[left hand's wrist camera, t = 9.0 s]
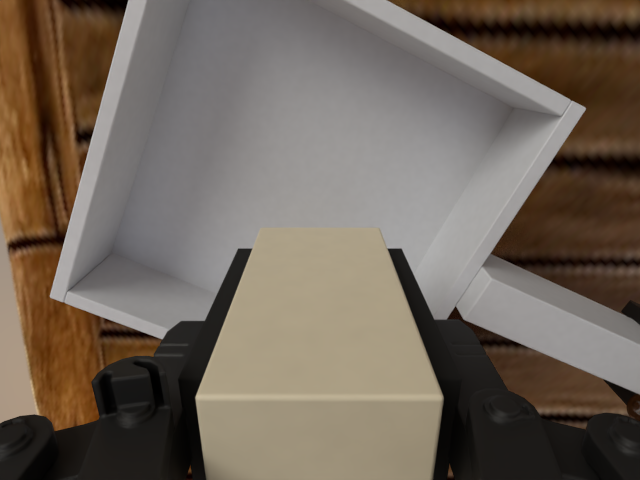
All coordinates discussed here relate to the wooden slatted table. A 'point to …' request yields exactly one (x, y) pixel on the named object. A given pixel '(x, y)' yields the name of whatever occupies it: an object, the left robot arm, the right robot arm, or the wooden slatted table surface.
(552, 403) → the wooden slatted table surface
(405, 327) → the block
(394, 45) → the tray
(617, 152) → the wooden slatted table surface
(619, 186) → the wooden slatted table surface
